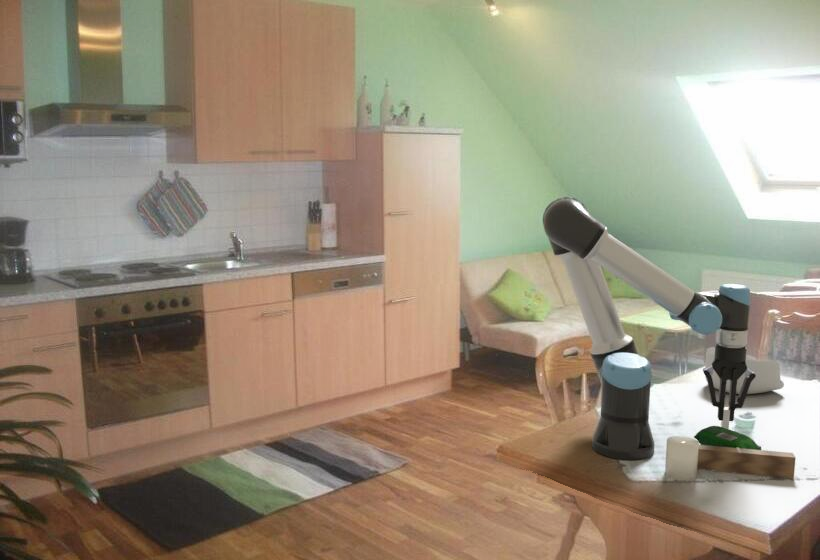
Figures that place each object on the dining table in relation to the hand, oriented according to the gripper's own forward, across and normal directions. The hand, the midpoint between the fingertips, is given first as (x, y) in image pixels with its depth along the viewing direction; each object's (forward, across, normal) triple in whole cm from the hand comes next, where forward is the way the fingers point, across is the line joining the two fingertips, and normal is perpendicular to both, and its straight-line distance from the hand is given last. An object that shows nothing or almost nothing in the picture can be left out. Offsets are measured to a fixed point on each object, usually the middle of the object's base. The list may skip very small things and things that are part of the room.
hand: (724, 432), depth 215 cm
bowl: (+2, +10, +47) cm, 48 cm away
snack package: (+2, -1, -11) cm, 11 cm away
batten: (+1, +1, -23) cm, 23 cm away
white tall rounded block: (+1, -13, -29) cm, 32 cm away
